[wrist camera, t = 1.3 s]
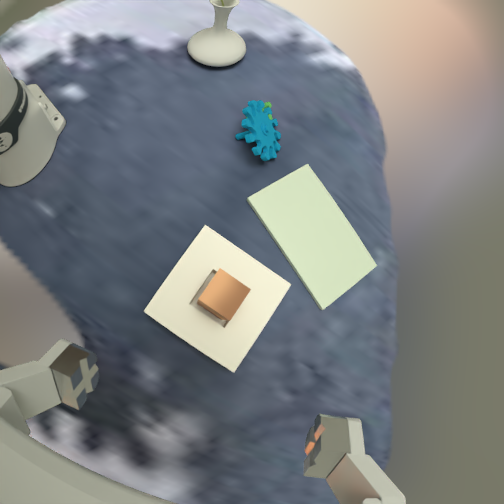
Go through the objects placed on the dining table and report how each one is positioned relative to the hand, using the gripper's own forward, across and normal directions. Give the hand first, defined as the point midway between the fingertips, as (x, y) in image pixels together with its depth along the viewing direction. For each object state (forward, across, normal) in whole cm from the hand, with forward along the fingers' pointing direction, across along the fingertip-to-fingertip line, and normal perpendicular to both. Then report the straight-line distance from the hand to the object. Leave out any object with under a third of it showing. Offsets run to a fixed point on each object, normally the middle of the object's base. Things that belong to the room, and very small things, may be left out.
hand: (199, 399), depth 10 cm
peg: (+30, +5, +15) cm, 34 cm away
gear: (+47, +5, -6) cm, 48 cm away
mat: (+41, -7, +6) cm, 42 cm away
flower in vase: (+55, +18, -22) cm, 62 cm away
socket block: (+31, +5, +15) cm, 35 cm away
